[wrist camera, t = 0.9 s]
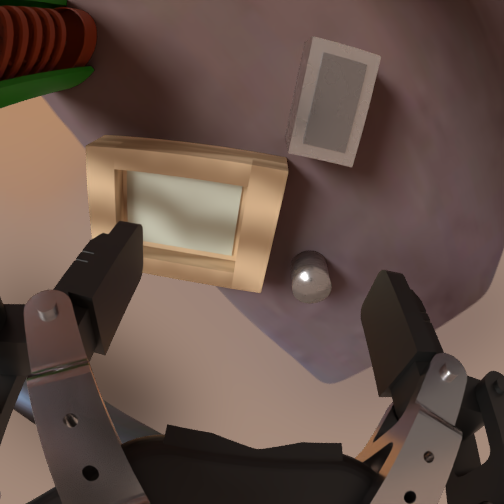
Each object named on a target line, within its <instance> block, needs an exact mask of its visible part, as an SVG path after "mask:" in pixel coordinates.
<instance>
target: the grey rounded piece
mask: <svg viewBox="0 0 504 504" xmlns="http://www.w3.org/2000/svg"><path fill="white" fill-rule="evenodd" d="M291 278H292V291H293V295H294V296H295V298H296V299H298V300H299V301H301V302H304V303H317V302H320V301H322V300H324V299H325V298H326V297H327V296H328V295H329V294H330V292H331V288H332V287H331V281H330V276H329V272H328V268H327V263H326V260H325V258H324V256H323V255H322V254H320V253H318V252H316V251H304V252H301V253H299V254H297V255H296V256H295V257H294V258H293V260H292V262H291Z"/></svg>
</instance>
